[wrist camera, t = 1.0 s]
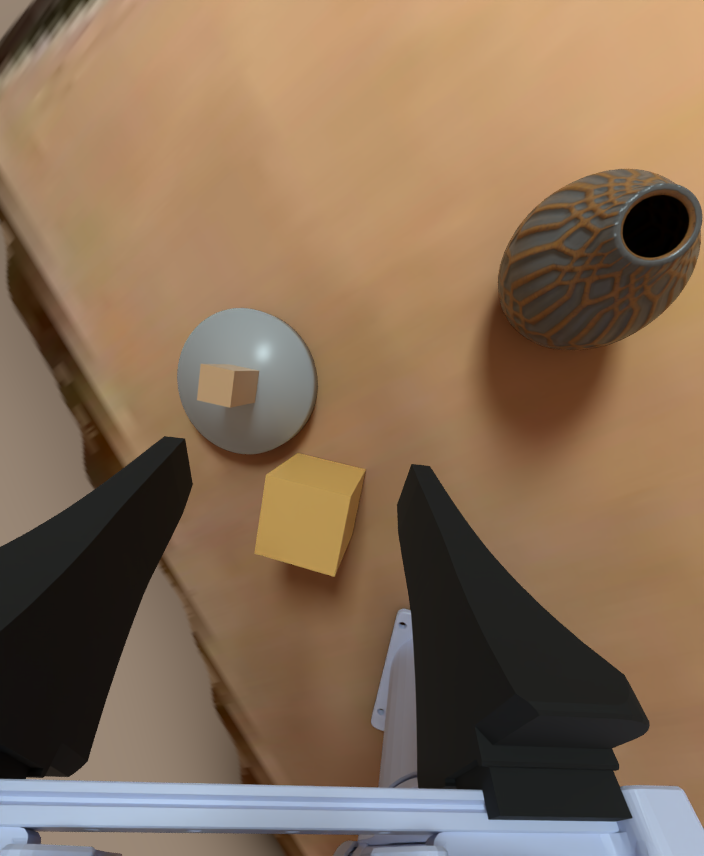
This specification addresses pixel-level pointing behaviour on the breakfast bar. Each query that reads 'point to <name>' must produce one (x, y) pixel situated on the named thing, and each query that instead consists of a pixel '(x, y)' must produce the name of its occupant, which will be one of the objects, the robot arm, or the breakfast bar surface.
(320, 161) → the breakfast bar surface
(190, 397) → the grey disc
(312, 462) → the mustard yellow cube
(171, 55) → the breakfast bar surface
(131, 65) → the breakfast bar surface
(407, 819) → the robot arm
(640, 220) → the vase
